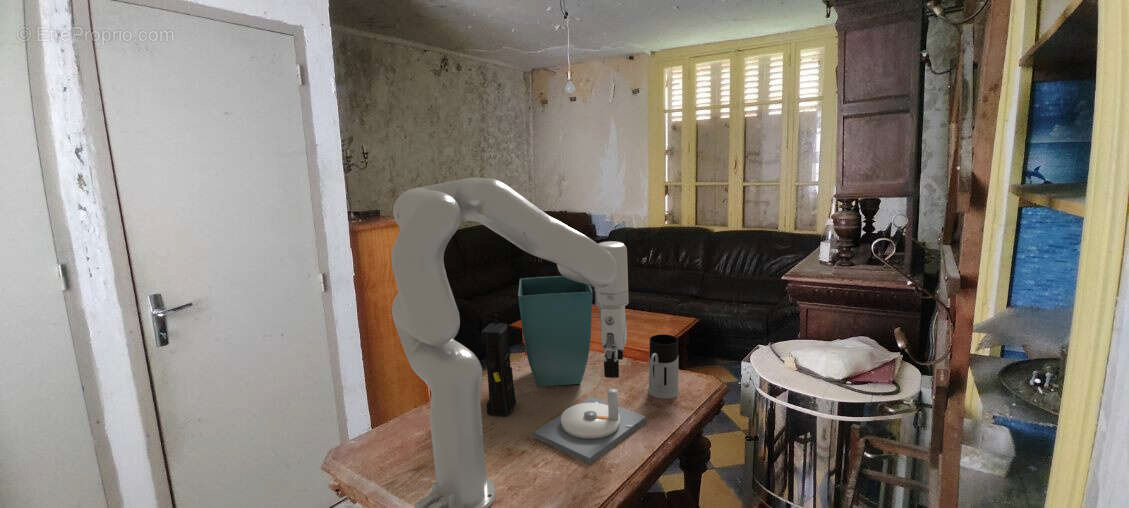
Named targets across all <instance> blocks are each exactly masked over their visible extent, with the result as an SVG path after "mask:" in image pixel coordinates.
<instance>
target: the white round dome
mask: <svg viewBox="0 0 1129 508" xmlns="http://www.w3.org/2000/svg"><path fill="white" fill-rule="evenodd" d="M607 402H608V405H605V404H600V403H582V404H580V403H577V404H574V405H572V406H570V407H568V408H566V409H565V410H564V411H563V412H562V413H561V414H562V416H561V425H562V428H563V430H564V431H565V432H567V433H568V434H570V435H572V436H575V437H578V438H584V439H597V438H602V437H606V436H609V435H611V434H613V433H614V432H615V431H617V430H618V428H619V426H620V415H619V413H618V406H619V390H618V389H616V388H609V389H608V390H607Z"/></svg>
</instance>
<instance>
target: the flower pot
mask: <svg viewBox="0 0 1129 508" xmlns="http://www.w3.org/2000/svg"><path fill="white" fill-rule="evenodd" d="M518 283H519V285H518V294H517V296H518V305H519V314H520V321H521V329H522V338H523V344H524V347H525V352H526V356H527V361H528V364H529V367H530V371H531V374H532V375H533V379H534V382H535V383H536V386H537V387H551V386H552V387H553V386H554V387H555V386H567V385H579V384H582V382H583V379H584V375H585V372H586V368H587V366H588V365H587V364H588V359H589V355H590V348H591V338H592V337H591V336H592V316H593V315H592V314H593V312H592V311H593V289H592V286H590V285H586V284H583V283H580V282H576V281H573V280H570V279H568V278H566V277H564V276H563V275H557V276H555V275H554V276H536V277H526V278H525V277H523V278H519V282H518Z"/></svg>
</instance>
